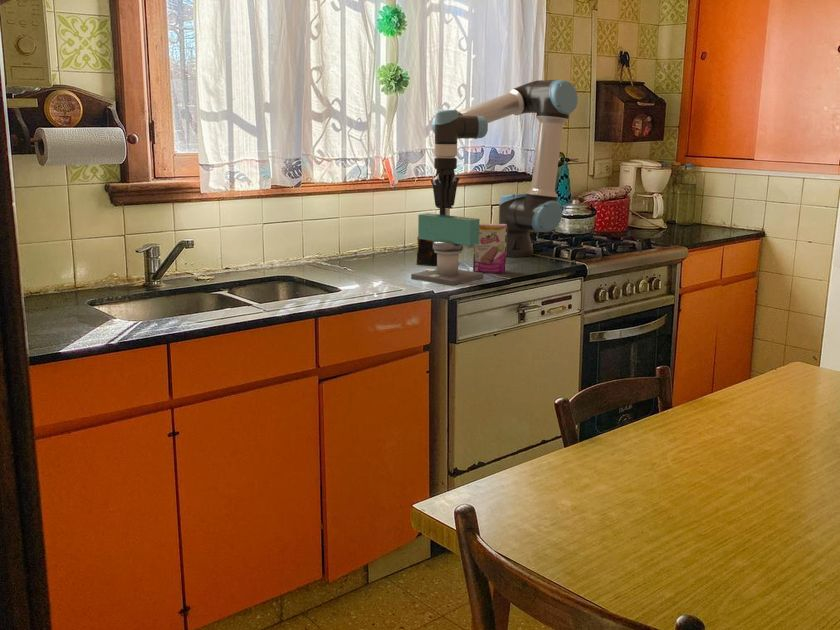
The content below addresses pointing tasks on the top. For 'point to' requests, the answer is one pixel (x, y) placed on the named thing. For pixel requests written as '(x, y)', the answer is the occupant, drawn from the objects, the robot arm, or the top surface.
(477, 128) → the robot arm
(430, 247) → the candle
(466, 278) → the post base
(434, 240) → the teal boxy piece
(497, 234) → the candy bar box
